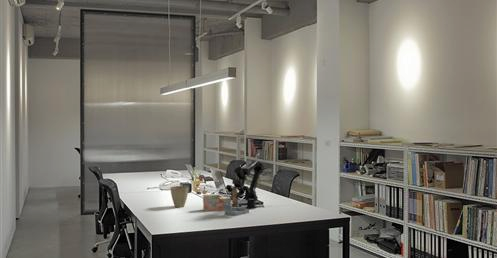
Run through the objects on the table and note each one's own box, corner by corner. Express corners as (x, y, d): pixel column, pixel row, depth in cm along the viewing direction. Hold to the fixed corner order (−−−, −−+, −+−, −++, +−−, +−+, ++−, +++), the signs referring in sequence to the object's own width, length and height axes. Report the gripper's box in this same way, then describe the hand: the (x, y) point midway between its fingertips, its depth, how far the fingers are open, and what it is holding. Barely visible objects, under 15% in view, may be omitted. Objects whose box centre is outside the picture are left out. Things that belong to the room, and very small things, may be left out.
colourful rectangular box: (229, 208, 388) (229, 193, 388) (231, 209, 382) (230, 194, 381) (203, 209, 383) (203, 194, 383) (204, 211, 377) (204, 195, 377)
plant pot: (172, 209, 385) (172, 189, 385) (168, 205, 399) (168, 186, 399) (190, 207, 391) (190, 188, 391) (186, 204, 405) (186, 185, 404)
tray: (237, 210, 377) (237, 207, 376) (248, 212, 368) (248, 209, 368) (224, 213, 366) (224, 210, 366) (235, 215, 358) (235, 212, 358)
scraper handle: (236, 205, 368) (236, 187, 368) (240, 206, 363) (240, 188, 363) (230, 206, 365) (229, 188, 365) (233, 207, 361) (233, 189, 360)
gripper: (226, 174, 371) (219, 190, 362) (248, 175, 363) (241, 192, 353) (231, 183, 379) (224, 199, 369) (253, 184, 370) (246, 201, 361)
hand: (234, 198), depth 363 cm, fingers closed on scraper handle, 4 cm apart
